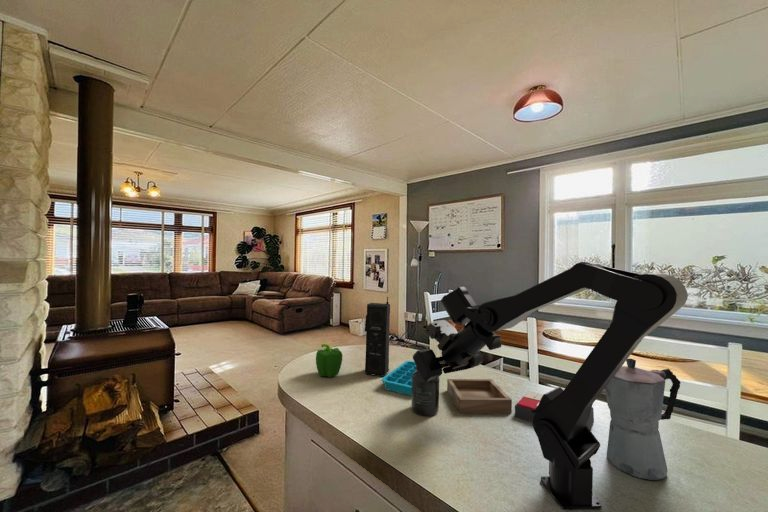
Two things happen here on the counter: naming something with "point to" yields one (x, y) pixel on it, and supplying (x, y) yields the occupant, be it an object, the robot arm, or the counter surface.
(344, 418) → the counter surface
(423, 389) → the supplement bottle
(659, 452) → the moka pot
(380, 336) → the portable radio
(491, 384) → the holder
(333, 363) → the bell pepper
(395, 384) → the ice cube tray
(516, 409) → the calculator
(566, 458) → the robot arm
